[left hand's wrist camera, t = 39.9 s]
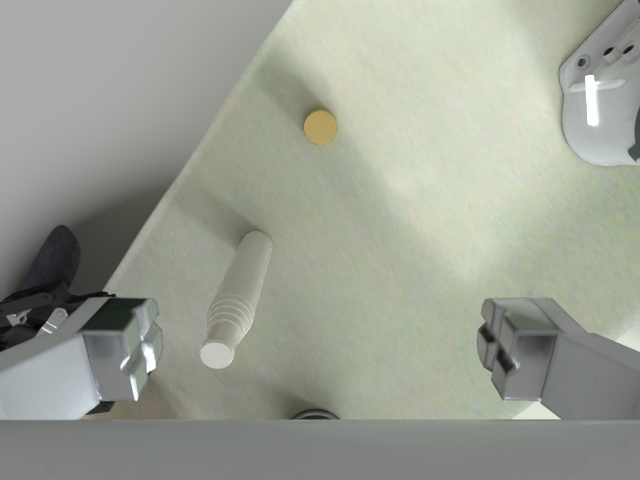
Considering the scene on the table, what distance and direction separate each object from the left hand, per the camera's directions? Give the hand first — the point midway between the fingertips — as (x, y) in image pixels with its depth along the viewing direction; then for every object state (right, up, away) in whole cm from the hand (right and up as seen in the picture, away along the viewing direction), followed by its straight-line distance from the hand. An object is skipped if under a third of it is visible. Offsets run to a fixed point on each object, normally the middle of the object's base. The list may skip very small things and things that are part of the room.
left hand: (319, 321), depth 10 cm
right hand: (-18, -8, +30) cm, 36 cm away
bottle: (-9, +1, +46) cm, 47 cm away
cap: (0, +15, +38) cm, 41 cm away
